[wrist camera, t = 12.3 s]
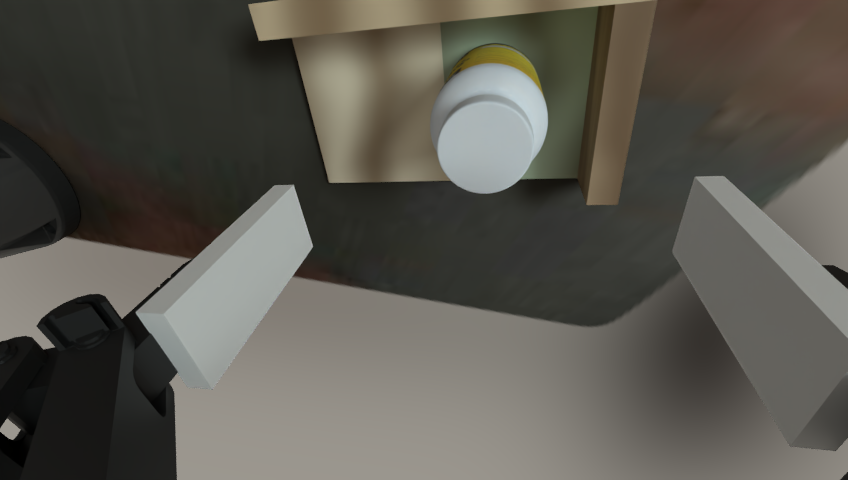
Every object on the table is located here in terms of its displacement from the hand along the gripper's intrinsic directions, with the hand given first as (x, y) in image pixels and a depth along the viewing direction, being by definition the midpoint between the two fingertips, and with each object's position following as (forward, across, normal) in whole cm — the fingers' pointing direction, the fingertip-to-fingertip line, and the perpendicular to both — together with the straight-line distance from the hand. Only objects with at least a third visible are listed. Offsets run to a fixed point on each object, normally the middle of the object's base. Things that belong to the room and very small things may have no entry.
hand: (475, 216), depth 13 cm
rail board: (+19, -3, 0) cm, 19 cm away
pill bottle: (+18, 0, 0) cm, 18 cm away
